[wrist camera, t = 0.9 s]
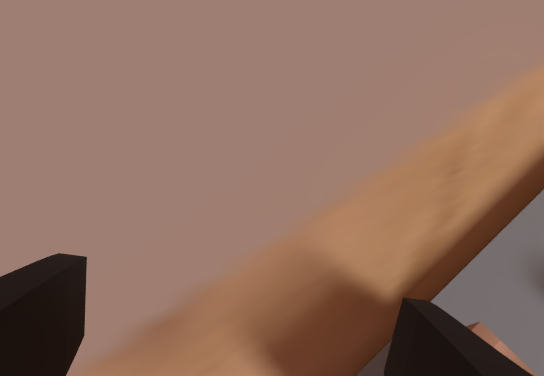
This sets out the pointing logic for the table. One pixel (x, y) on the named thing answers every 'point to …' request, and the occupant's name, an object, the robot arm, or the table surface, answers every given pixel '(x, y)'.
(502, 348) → the hollow square block
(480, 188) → the table surface
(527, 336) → the pin plate
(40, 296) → the robot arm
